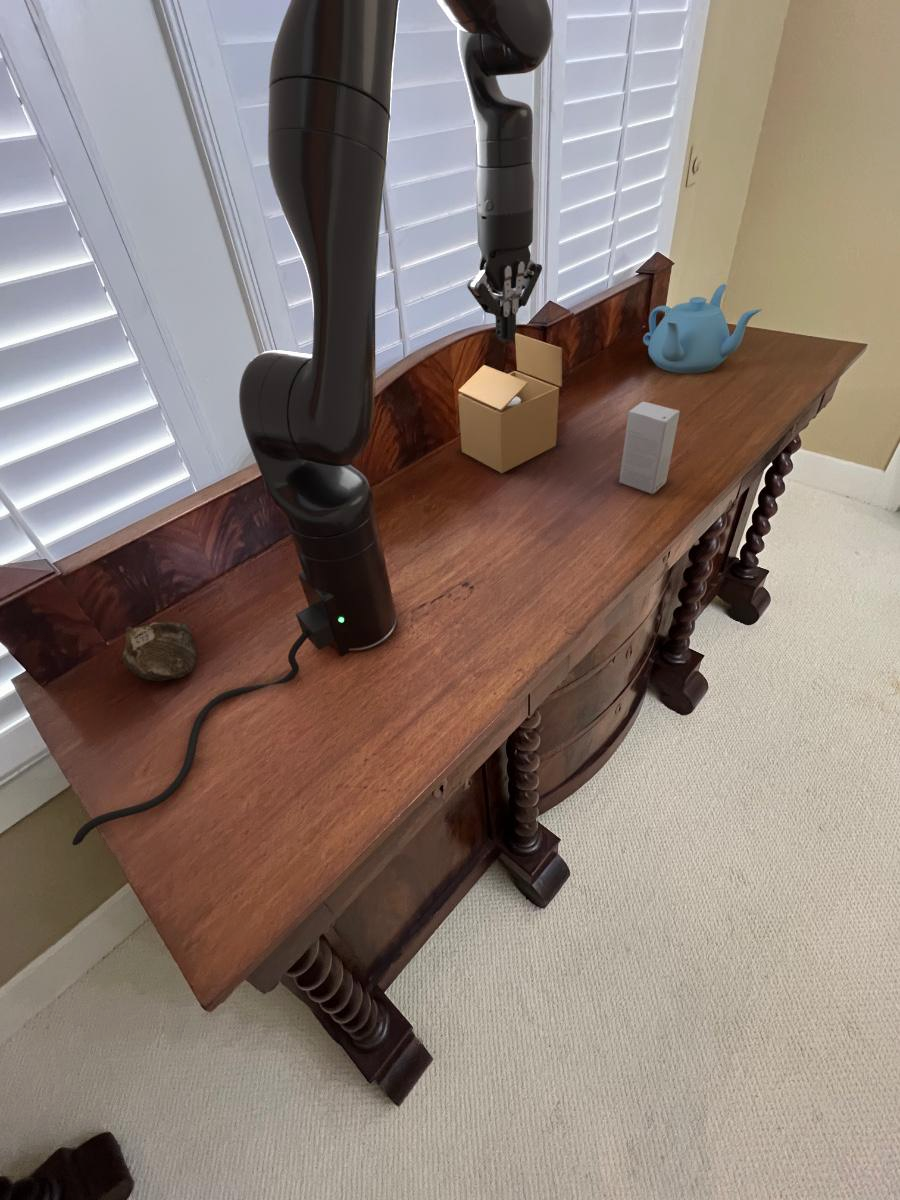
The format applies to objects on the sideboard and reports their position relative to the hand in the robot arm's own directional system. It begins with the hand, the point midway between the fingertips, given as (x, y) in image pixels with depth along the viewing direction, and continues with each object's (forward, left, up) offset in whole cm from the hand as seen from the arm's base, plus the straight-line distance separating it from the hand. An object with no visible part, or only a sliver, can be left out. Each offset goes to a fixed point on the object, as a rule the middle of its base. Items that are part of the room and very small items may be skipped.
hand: (505, 340), depth 89 cm
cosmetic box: (+8, -23, -19) cm, 31 cm away
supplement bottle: (+1, 0, -18) cm, 18 cm away
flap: (-3, 0, -7) cm, 7 cm away
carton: (+1, 0, -19) cm, 19 cm away
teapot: (+52, -1, -19) cm, 55 cm away
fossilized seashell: (-63, -8, -19) cm, 67 cm away
